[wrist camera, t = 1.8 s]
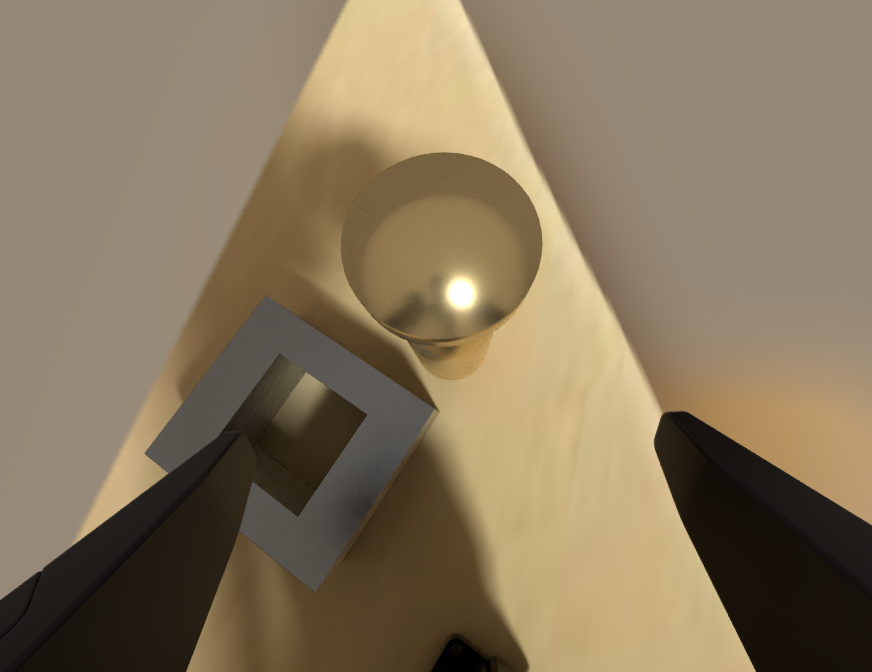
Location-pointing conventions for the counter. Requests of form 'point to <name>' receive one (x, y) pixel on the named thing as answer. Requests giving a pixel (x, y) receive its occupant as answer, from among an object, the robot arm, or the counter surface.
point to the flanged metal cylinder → (442, 255)
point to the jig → (273, 484)
